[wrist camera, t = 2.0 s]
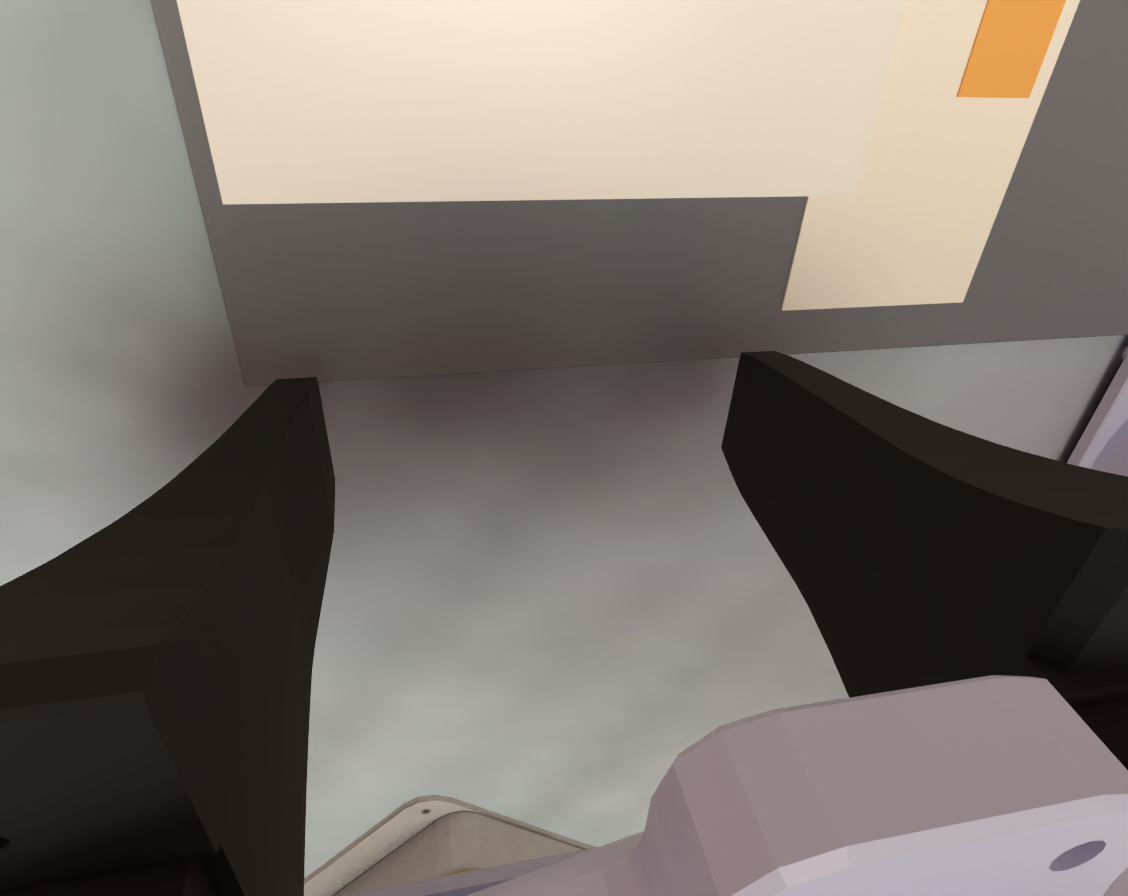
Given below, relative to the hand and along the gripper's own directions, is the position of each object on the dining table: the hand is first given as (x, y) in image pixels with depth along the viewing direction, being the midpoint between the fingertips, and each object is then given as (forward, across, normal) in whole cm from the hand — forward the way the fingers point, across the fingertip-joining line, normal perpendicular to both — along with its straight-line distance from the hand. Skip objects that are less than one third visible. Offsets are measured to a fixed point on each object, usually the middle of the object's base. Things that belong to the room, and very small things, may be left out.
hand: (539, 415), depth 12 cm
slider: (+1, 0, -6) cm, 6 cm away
